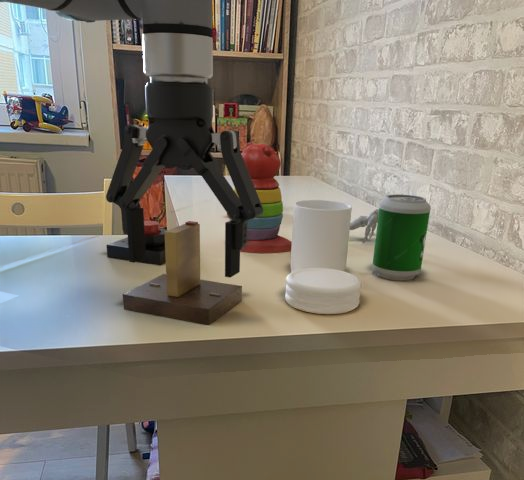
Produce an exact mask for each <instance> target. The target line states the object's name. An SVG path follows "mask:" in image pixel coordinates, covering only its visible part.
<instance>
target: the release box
mask: <svg viewBox="0 0 524 480" xmlns="http://www.w3.org/2000/svg"><path fill="white" fill-rule="evenodd" d="M159 228H160V233H157V234H145V249H146V258H144V259H142V260H139V261H137V262H136V263H142V264H148V265H153V266H162V265H166V256H165V231H168V230H169V229H166V228H164V227H159ZM105 246H106V258H108V259H115V260H120V261H127V262H129V248H128V236H127V237H125V238H121V239H119V240H116V241H113V242H110V243H107V244H106V245H105Z"/></svg>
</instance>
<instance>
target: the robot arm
mask: <svg viewBox="0 0 524 480" xmlns="http://www.w3.org/2000/svg"><path fill="white" fill-rule="evenodd" d="M0 3H10V4H14V5H15V4H16V5H21V6H26V7H31V8H38V9H42V10H47V11H50V12H55V14H56V15H58V17H60V18H62V19H64V20H68V21H78V22H86V23H87V24H88V23H95V22H97V21H121V20H122V21H123V20H137V21H141V26H142V27H141V28H142V54H143V55H142V59H143V74H144V75H145V76H146V77H149V81H147V82H146V85H145V84H144V96H145V114H146V115H147V119H148V124H147V127H144V126H143V125H142V124H139V123H138V124H126V125H124V128H123V145H122V147H121V151H120V154H119V157H118V160H117V163H116V164H115V165H116V166H115V169H114V171H113V174H112V178H111V179H110V183H109V186H108V189H107V192H106V194H105V200H106V201H107V203H111V204H112V203H113V204H115V205H116V206H118V207H119V209H120V213H121V227H122V232H123V234H124V235H127V237H128V248H129V261H128V262H129V263H138V262H137V261H139V260H142V259H144V258H146V249H145V231H144V221H145V215H144V214H145V212H144V207H140V205H141V203H140V202H141V200H142V198H144V195H146V193H147V191H149V189H150V188H151V186H152V184H154V182H155V180H156V179H157V178H158V176H159V175H160V174H161V172H162V170H164V168H165V169H176V168H177V169H179V170H180V169H181V170H184V171H192V170H195V172H196V173H197V175H199V176H201V177H202V179H203V180H204V182H205V183H206V185H207V186H208V187H209V189H210V191H211V193H213V195H214V196H215V197H216V199H217V201H218V202H219V204H220V205H221V206H222V208H223V209H224V211H225V212H226V214H227V213H228V215H229V216H230V218H231V219H232V220H228V221H226V222H224V224H225V225H224V227H225V229H224V238H225V239H224V277H225V278H232V277H234V276H236V275H237V274H239V273H240V272H241V251H240V250H241V249H243V248H245V247H246V244H247V223H248V220H249V219H253V218H256V217H258V216H260V215H262V214H263V211H264V210H263V207H262V204H261V202H260V200H259V197H258V195H257V192H256V190H255V187H254V185H253V182H252V180H251V177H250V175H249V172H248V170H247V167H246V165H245V162H244V160H243V157H242V155H241V154H242V152H241V145H240V144H241V143H240V134H239V132H238V131H237V130H235V129H232V130H231V129H230V130H222V131H221V132H215V131H214V127H213V118H214V88H213V87H212V85H211V84H208V79H212V78H213V76H214V48H213V47H214V41H213V39H214V38H213V0H0ZM147 143H148V144H149V146H150V148H151V151H150V152H149V154H148V155H147V156H146V158H145V160H144V161H143V166H142V167H141V169H140V170H139V171H138V173H137V174H136V176H135V177H134V179H133V176H134V174H135V171H136V168H137V166H138V163H139V161H140V157H141V155H142V152H143V149H144V146H145V145H146V144H147ZM214 146H216V148H217V150H218V151H219V152H221V156H222V160H223V163H224V165H225V167H226V169H227V172H228V175H229V177H230V179H231V182H232V184H233V187H234V188H235V189H236V191H237V194H238V196H239V197H238V196H237V194H236V193H235V191H234V188H233V187H232V185H231V184H230V183H229V181H228V180H227V178H226V177H225V175H224V174H223V173H222V171H221V170H220V168H219V164H218V162H217V161H216V159H215V158H214V156H213V155H212V153H211V150H212V149H213V148H214Z"/></svg>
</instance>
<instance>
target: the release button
mask: <svg viewBox="0 0 524 480" xmlns="http://www.w3.org/2000/svg"><path fill="white" fill-rule="evenodd" d="M160 228H161V227H160V222H159V221H156V220H144V231H145V234H157V233H160Z"/></svg>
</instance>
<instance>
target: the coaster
mask: <svg viewBox="0 0 524 480" xmlns="http://www.w3.org/2000/svg"><path fill="white" fill-rule="evenodd" d="M285 283H286V286H285V295H284V299H285V301H286V303H288V305H290V306H291V307H292V308H294V309H296V310H300V311H303V312H307V313H311V314H317V315H338V314H339V315H340V314H344V313H349V312H351V311H353V310H354V309H355V310H356V308H358V306H359V304H360V301H361V300H360V297H361V288H362V282H361V279H360V278H359V277H357V276H356V275H355V274H353V273H350V272H348V271H345V272H344V271H340V270H335V269H327V268H307V269H300V270H296V271H293V272H291V271H290V273H289V274H288V275H287V276H286V277H285Z"/></svg>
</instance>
